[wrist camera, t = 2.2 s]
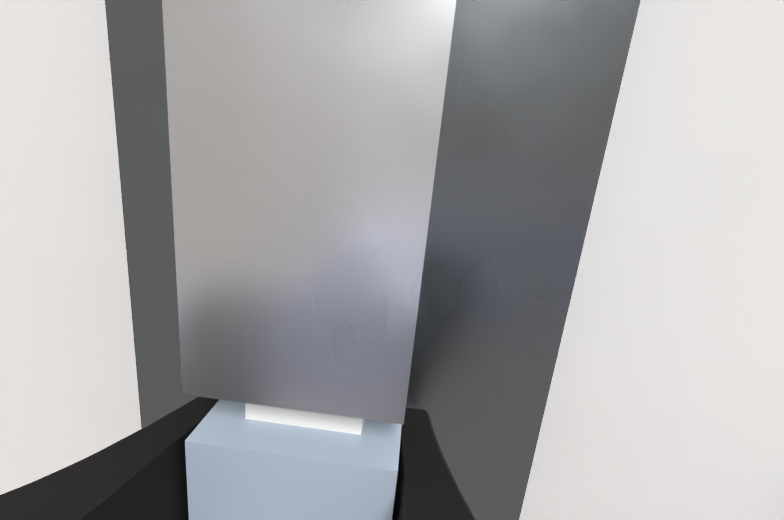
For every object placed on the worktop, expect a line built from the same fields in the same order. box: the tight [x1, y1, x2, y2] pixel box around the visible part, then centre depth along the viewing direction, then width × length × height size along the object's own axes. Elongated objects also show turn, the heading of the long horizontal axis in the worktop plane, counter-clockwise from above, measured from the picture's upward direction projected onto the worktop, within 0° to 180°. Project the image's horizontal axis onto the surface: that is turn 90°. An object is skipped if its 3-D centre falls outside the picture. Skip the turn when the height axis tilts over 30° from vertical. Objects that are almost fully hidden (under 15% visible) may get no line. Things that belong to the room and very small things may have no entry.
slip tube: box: [185, 399, 402, 520], centre depth 9 cm, size 4×16×4 cm, turn 174°
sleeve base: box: [105, 0, 640, 520], centre depth 10 cm, size 12×28×5 cm, turn 174°
